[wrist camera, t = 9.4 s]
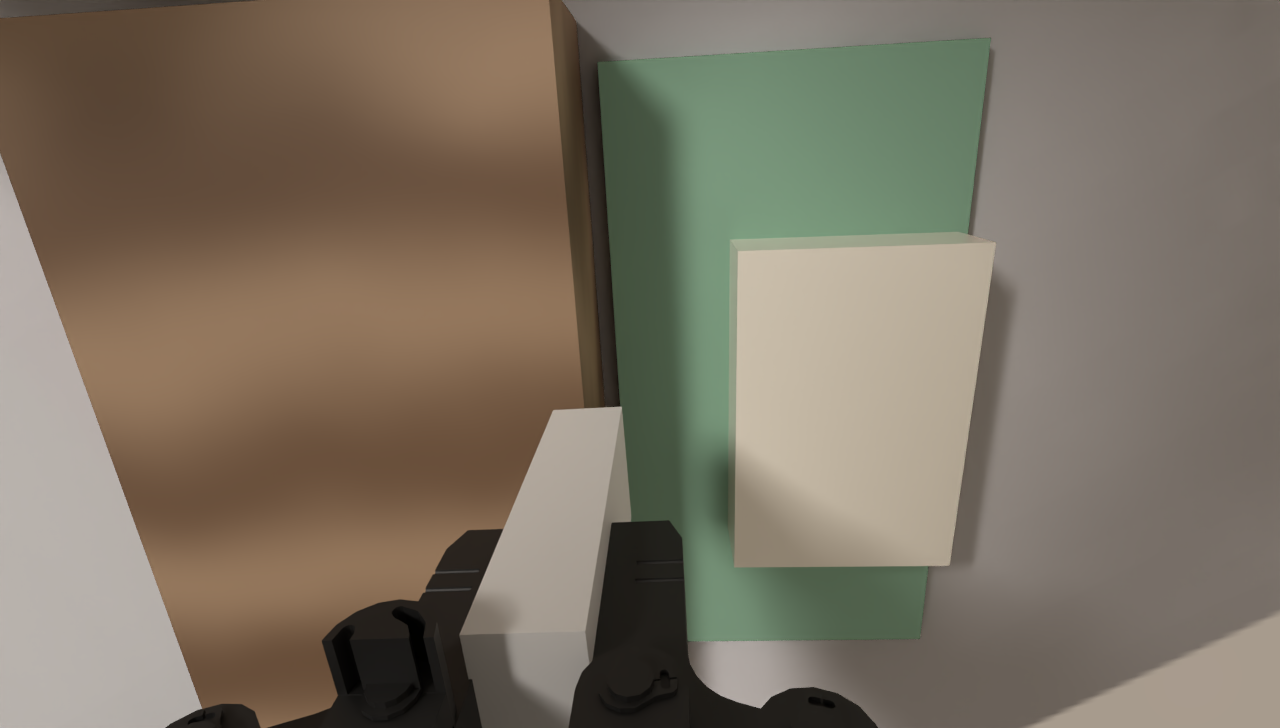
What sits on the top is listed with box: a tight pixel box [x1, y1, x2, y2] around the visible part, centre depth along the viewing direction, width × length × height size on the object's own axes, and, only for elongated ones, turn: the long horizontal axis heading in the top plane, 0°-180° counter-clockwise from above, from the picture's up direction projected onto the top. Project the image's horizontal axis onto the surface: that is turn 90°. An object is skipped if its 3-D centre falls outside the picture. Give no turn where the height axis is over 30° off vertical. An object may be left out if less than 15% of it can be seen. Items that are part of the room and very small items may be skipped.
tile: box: [728, 232, 996, 567], centre depth 17 cm, size 9×6×2 cm, turn 2°
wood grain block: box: [0, 0, 605, 728], centre depth 17 cm, size 20×12×4 cm, turn 3°
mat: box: [598, 38, 991, 641], centre depth 18 cm, size 18×10×1 cm, turn 3°
